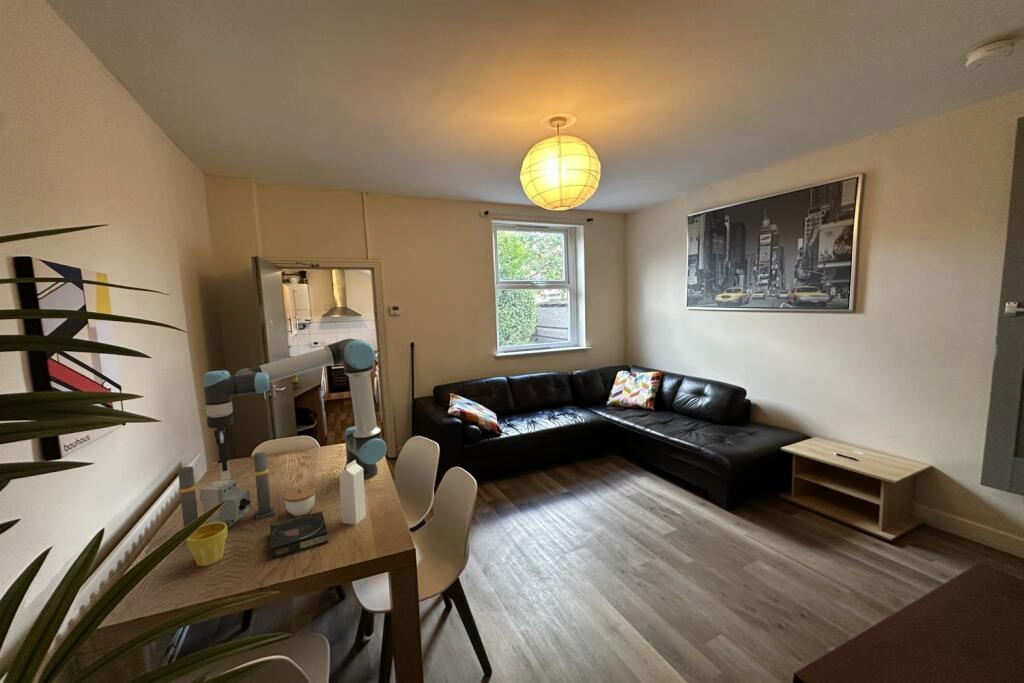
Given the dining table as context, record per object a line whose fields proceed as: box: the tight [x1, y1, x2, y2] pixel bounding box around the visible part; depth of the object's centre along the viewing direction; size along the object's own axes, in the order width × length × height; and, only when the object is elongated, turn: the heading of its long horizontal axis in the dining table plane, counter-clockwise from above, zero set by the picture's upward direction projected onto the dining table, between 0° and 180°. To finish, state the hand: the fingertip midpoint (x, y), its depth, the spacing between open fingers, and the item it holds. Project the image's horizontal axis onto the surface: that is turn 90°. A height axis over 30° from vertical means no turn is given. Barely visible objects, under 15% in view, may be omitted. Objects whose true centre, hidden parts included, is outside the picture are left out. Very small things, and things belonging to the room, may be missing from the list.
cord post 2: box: [253, 451, 276, 521], centre depth 153 cm, size 6×6×24 cm
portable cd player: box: [269, 511, 329, 560], centre depth 138 cm, size 16×17×4 cm
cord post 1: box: [177, 466, 199, 528], centre depth 140 cm, size 6×6×24 cm
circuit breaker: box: [199, 480, 252, 529], centre depth 147 cm, size 8×14×15 cm, turn 89°
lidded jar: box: [283, 486, 316, 517], centre depth 155 cm, size 11×11×9 cm
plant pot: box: [185, 522, 229, 567], centre depth 127 cm, size 10×10×10 cm
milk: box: [338, 460, 367, 526], centre depth 148 cm, size 6×6×22 cm
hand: (225, 478), depth 145 cm, fingers closed
